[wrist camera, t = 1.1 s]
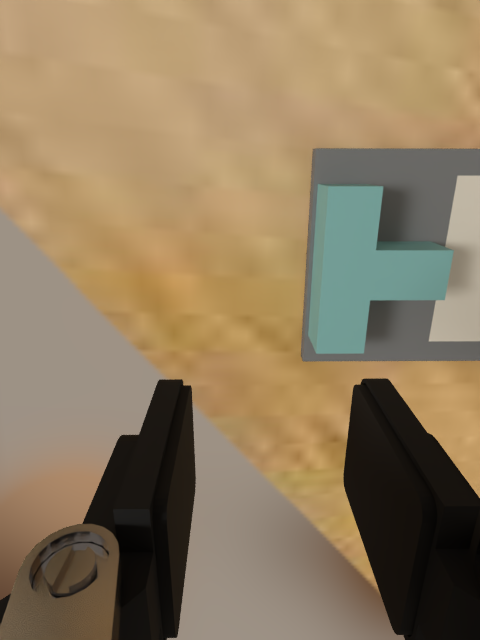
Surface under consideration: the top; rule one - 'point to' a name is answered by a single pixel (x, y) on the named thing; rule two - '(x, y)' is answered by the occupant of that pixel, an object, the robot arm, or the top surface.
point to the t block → (363, 267)
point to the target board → (413, 225)
